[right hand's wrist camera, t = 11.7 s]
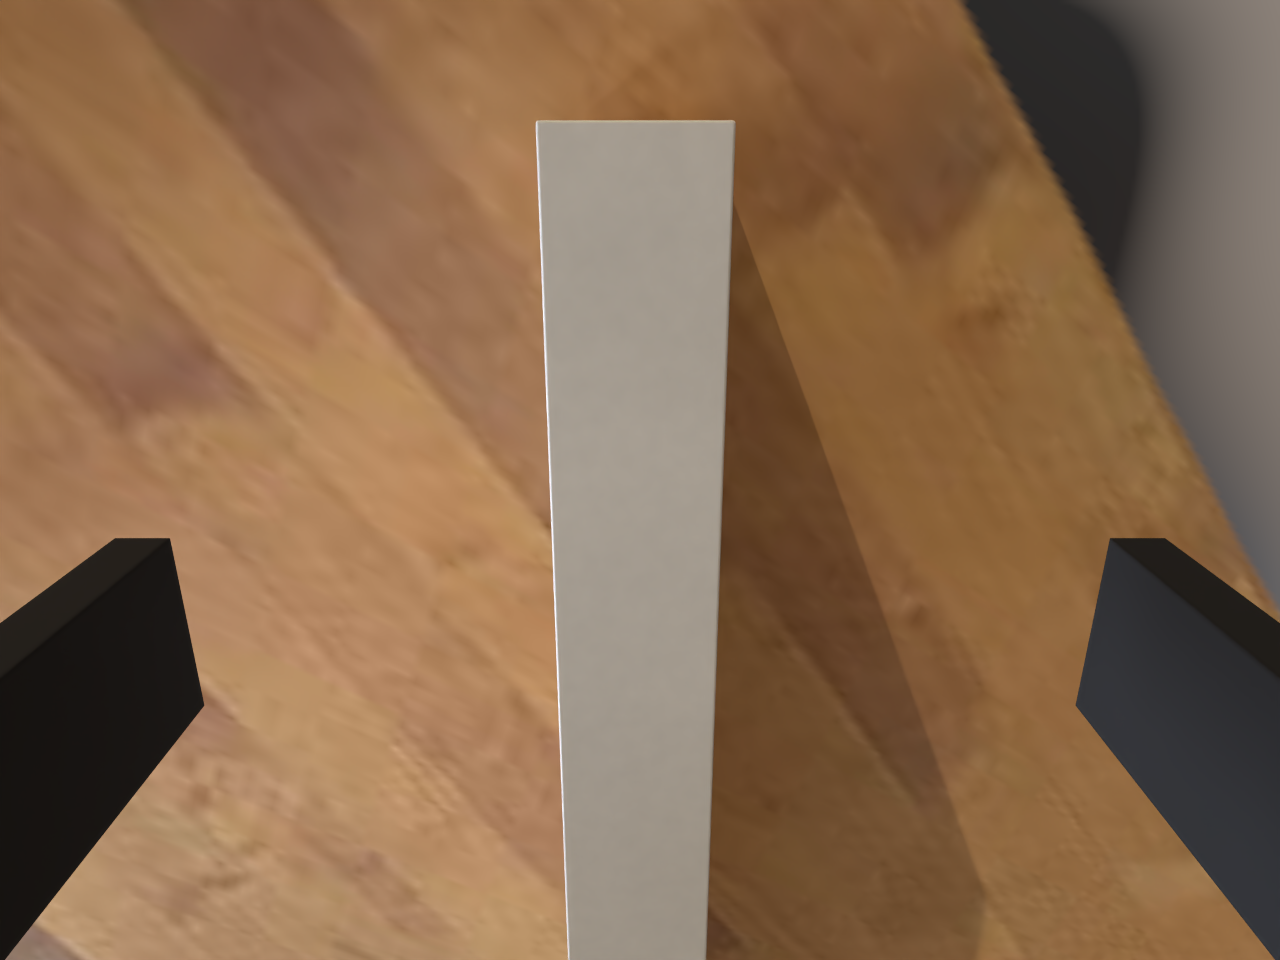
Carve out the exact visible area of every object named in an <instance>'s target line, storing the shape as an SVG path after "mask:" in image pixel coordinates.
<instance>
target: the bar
mask: <svg viewBox="0 0 1280 960" xmlns="http://www.w3.org/2000/svg"><path fill="white" fill-rule="evenodd" d="M735 130H736V123H735V121H733V120H538V121H537V122H536V143H537V168H538V194H539V220H540V245H541V271H542V297H543V322H544V348H545V374H546V399H547V425H548V451H549V476H550V502H551V528H552V553H553V579H554V605H555V630H556V656H557V682H558V707H559V733H560V759H561V784H562V810H563V836H564V861H565V887H566V913H567V938H568V960H706V948H707V920H708V892H709V864H710V835H711V807H712V779H713V751H714V722H715V694H716V666H717V638H718V610H719V581H720V553H721V525H722V497H723V468H724V440H725V412H726V384H727V355H728V327H729V299H730V271H731V243H732V214H733V186H734V158H735Z"/></svg>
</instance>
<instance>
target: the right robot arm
mask: <svg viewBox="0 0 1280 960" xmlns="http://www.w3.org/2000/svg"><path fill="white" fill-rule="evenodd" d="M203 706H204V701H203V697H202V692H201V687H200V682H199V677H198V672H197V668H196V663H195V658H194V653H193V648H192V643H191V638H190V634H189V629H188V624H187V619H186V614H185V609H184V604H183V600H182V595H181V590H180V585H179V580H178V575H177V570H176V566H175V561H174V556H173V551H172V546H171V541H170V538H115V539H113V540H112V541H111V542H109V543H108V544H107V545H105V546H104V547H103V548H101V549H100V550H99V551H97V552H96V553H95V554H93V555H92V556H90V557H89V558H88V559H86V560H85V561H84V562H82V563H81V564H80V565H78V566H77V567H76V568H74V569H73V570H72V571H70V572H69V573H67V574H66V575H65V576H63V577H62V578H61V579H59V580H58V581H57V582H55V583H54V584H53V585H51V586H50V587H49V588H47V589H46V590H45V591H43V592H42V593H40V594H39V595H38V596H36V597H35V598H34V599H32V600H31V601H30V602H28V603H27V604H26V605H24V606H23V607H22V608H20V609H19V610H17V611H16V612H15V613H13V614H12V615H11V616H9V617H8V618H7V619H5V620H4V621H3V622H1V623H0V960H5V959H6V958H7V956H8V955H9V954H10V953H11V951H12V950H13V949H14V947H15V946H16V945H17V944H18V942H19V941H20V940H21V938H22V937H23V936H24V935H25V933H26V932H27V931H28V930H29V928H30V927H31V926H32V924H33V923H34V922H35V921H36V919H37V918H38V917H39V916H40V914H41V913H42V912H43V910H44V909H45V908H46V907H47V905H48V904H49V903H50V902H51V900H52V899H53V898H54V896H55V895H56V894H57V893H58V891H59V890H60V889H61V887H62V886H63V885H64V884H65V882H66V881H67V880H68V879H69V877H70V876H71V875H72V873H73V872H74V871H75V870H76V868H77V867H78V866H79V865H80V863H81V862H82V861H83V859H84V858H85V857H86V856H87V854H88V853H89V852H90V851H91V849H92V848H93V847H94V845H95V844H96V843H97V842H98V840H99V839H100V838H101V836H102V835H103V834H104V833H105V831H106V830H107V829H108V828H109V826H110V825H111V824H112V822H113V821H114V820H115V819H116V817H117V816H118V815H119V814H120V812H121V811H122V810H123V808H124V807H125V806H126V805H127V803H128V802H129V801H130V800H131V798H132V797H133V796H134V794H135V793H136V792H137V791H138V789H139V788H140V787H141V785H142V784H143V783H144V782H145V780H146V779H147V778H148V777H149V775H150V774H151V773H152V771H153V770H154V769H155V768H156V766H157V765H158V764H159V763H160V761H161V760H162V759H163V757H164V756H165V755H166V754H167V752H168V751H169V750H170V749H171V747H172V746H173V745H174V743H175V742H176V741H177V740H178V738H179V737H180V736H181V735H182V733H183V732H184V731H185V729H186V728H187V727H188V726H189V724H190V723H191V722H192V720H193V719H194V718H195V717H196V715H197V714H198V713H199V712H200V710H201V709H202V708H203ZM1076 706H1077V708H1078V709H1079V710H1080V712H1081V713H1082V714H1083V715H1084V717H1085V718H1086V719H1087V720H1088V722H1089V723H1090V724H1091V726H1092V727H1093V728H1094V729H1095V731H1096V732H1097V733H1098V735H1099V736H1100V737H1101V738H1102V740H1103V741H1104V742H1105V743H1106V745H1107V746H1108V747H1109V749H1110V750H1111V751H1112V752H1113V754H1114V755H1115V756H1116V757H1117V759H1118V760H1119V761H1120V763H1121V764H1122V765H1123V766H1124V768H1125V769H1126V770H1127V771H1128V773H1129V774H1130V775H1131V777H1132V778H1133V779H1134V780H1135V782H1136V783H1137V784H1138V786H1139V787H1140V788H1141V789H1142V791H1143V792H1144V793H1145V794H1146V796H1147V797H1148V798H1149V800H1150V801H1151V802H1152V803H1153V805H1154V806H1155V807H1156V808H1157V810H1158V811H1159V812H1160V814H1161V815H1162V816H1163V817H1164V819H1165V820H1166V821H1167V822H1168V824H1169V825H1170V826H1171V828H1172V829H1173V830H1174V831H1175V833H1176V834H1177V835H1178V836H1179V838H1180V839H1181V840H1182V842H1183V843H1184V844H1185V845H1186V847H1187V848H1188V849H1189V851H1190V852H1191V853H1192V854H1193V856H1194V857H1195V858H1196V859H1197V861H1198V862H1199V863H1200V865H1201V866H1202V867H1203V868H1204V870H1205V871H1206V872H1207V873H1208V875H1209V876H1210V877H1211V879H1212V880H1213V881H1214V882H1215V884H1216V885H1217V886H1218V887H1219V889H1220V890H1221V891H1222V893H1223V894H1224V895H1225V896H1226V898H1227V899H1228V900H1229V902H1230V903H1231V904H1232V905H1233V907H1234V908H1235V909H1236V910H1237V912H1238V913H1239V914H1240V916H1241V917H1242V918H1243V919H1244V921H1245V922H1246V923H1247V924H1248V926H1249V927H1250V928H1251V930H1252V931H1253V932H1254V933H1255V935H1256V936H1257V937H1258V938H1259V940H1260V941H1261V942H1262V944H1263V945H1264V946H1265V947H1266V949H1267V950H1268V951H1269V953H1270V954H1271V955H1272V956H1273V958H1274V959H1275V960H1280V623H1279V622H1277V621H1276V620H1275V619H1273V618H1272V617H1271V616H1269V615H1268V614H1267V613H1265V612H1264V611H1263V610H1261V609H1260V608H1258V607H1257V606H1256V605H1254V604H1253V603H1252V602H1250V601H1249V600H1248V599H1246V598H1245V597H1244V596H1242V595H1241V594H1240V593H1238V592H1237V591H1235V590H1234V589H1233V588H1231V587H1230V586H1229V585H1227V584H1226V583H1225V582H1223V581H1222V580H1221V579H1219V578H1218V577H1217V576H1215V575H1214V574H1213V573H1211V572H1210V571H1208V570H1207V569H1206V568H1204V567H1203V566H1202V565H1200V564H1199V563H1198V562H1196V561H1195V560H1194V559H1192V558H1191V557H1190V556H1188V555H1187V554H1185V553H1184V552H1183V551H1181V550H1180V549H1179V548H1177V547H1176V546H1175V545H1173V544H1172V543H1171V542H1169V541H1168V540H1167V539H1165V538H1110V541H1109V546H1108V551H1107V556H1106V561H1105V566H1104V570H1103V575H1102V580H1101V585H1100V590H1099V595H1098V600H1097V604H1096V609H1095V614H1094V619H1093V624H1092V629H1091V634H1090V638H1089V643H1088V648H1087V653H1086V658H1085V663H1084V668H1083V672H1082V677H1081V682H1080V687H1079V692H1078V697H1077V701H1076Z"/></svg>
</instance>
